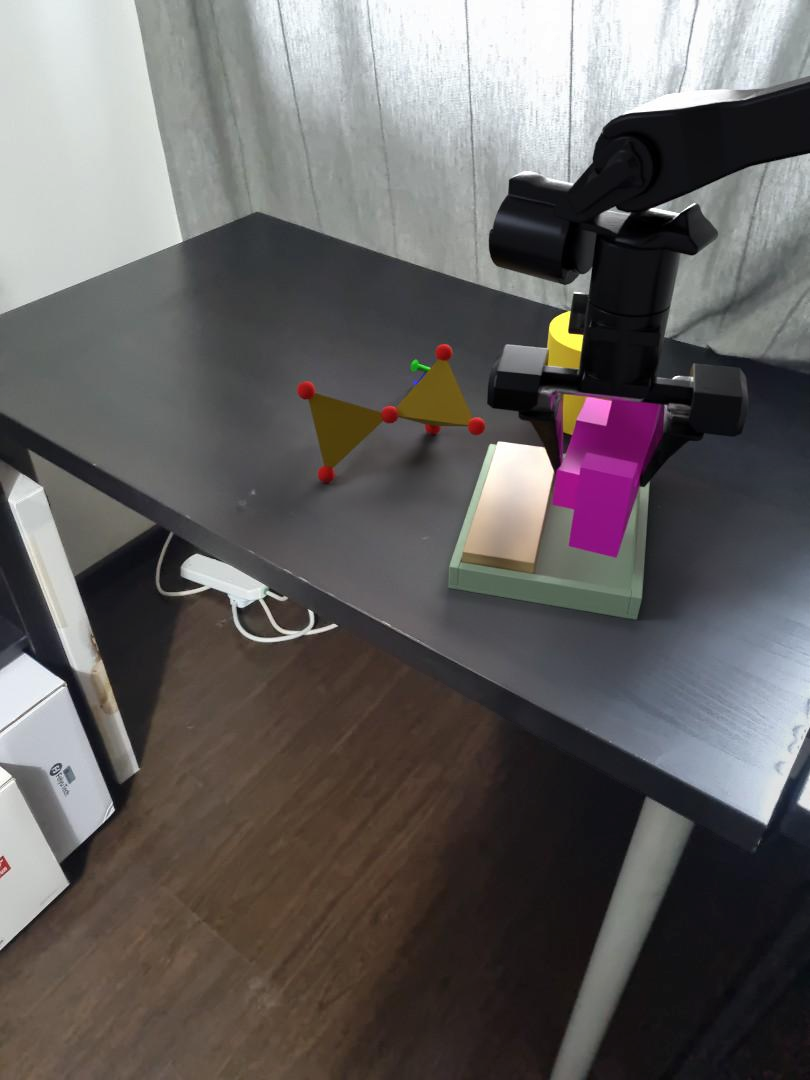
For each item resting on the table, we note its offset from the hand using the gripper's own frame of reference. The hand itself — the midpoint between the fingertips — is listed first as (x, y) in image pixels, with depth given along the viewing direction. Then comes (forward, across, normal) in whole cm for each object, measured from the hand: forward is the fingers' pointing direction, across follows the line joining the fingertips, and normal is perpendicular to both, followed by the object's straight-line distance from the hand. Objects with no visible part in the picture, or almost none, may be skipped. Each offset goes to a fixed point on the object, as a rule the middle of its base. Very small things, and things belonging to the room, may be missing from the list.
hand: (600, 478), depth 68 cm
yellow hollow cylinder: (+7, +2, -21) cm, 22 cm away
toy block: (+2, 0, 0) cm, 2 cm away
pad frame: (+6, +3, 0) cm, 7 cm away
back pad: (+6, +7, 0) cm, 10 cm away
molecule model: (+7, +22, -11) cm, 26 cm away
